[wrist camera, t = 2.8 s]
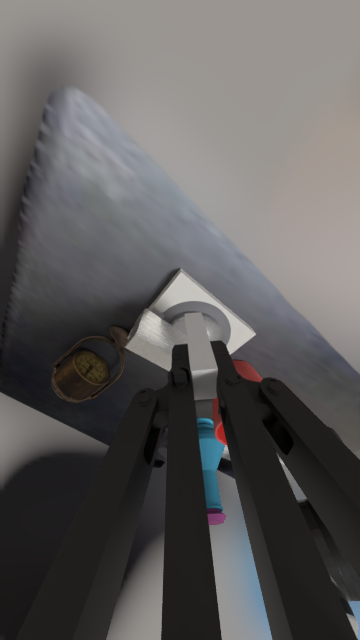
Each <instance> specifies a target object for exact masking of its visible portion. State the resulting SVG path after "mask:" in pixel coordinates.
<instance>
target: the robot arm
mask: <svg viewBox="0 0 360 640" xmlns="http://www.w3.org/2000/svg"><path fill="white" fill-rule="evenodd" d="M185 324H186V334H187V344H178V345H174V347H173V349H172V363H171V369H170V371H169V372H168V380H169V383H168V384H167V385H166V386H165V387H163V388H161V389H159V390H156V391H154V390H153V389H150V388H146V389H142V390H140V391H139V392H137V393H136V395H135V396H134V397H133V399H132V401H131V403H130V406H129V408H128V410H127V412H126V414H125V416H124V418H123V420H122V422H121V424H120V426H119V428H118V430H117V432H116V434H115V436H114V438H113V441H112V443H111V445H110V447H109V449H108V451H107V453H106V455H105V457H104V459H103V461H102V463H101V465H100V467H99V469H98V471H97V473H96V476H95V478H94V480H93V482H92V484H91V486H90V488H89V490H88V492H87V494H86V496H85V498H84V500H83V502H82V504H81V506H80V508H79V510H78V513H77V515H76V517H75V519H74V521H73V523H72V525H71V527H70V529H69V531H68V533H67V535H66V537H65V539H64V541H63V543H62V546H61V548H60V549H59V552H58V554H57V556H56V558H55V560H54V562H53V564H52V566H51V568H50V570H49V572H48V574H47V576H46V578H45V580H44V582H43V585H42V587H41V589H40V591H39V593H38V595H37V597H36V599H35V601H34V603H33V605H32V607H31V610H30V611H29V613H28V615H27V618H26V619H25V622H24V623H23V626H22V628H21V630H20V632H19V634H18V636H17V638H16V640H106V637H107V634H108V630H109V627H110V623H111V619H112V615H113V612H114V608H115V604H116V601H117V597H118V593H119V590H120V586H121V582H122V579H123V575H124V571H125V568H126V564H127V560H128V557H129V553H130V549H131V546H132V542H133V538H134V534H135V531H136V527H137V524H138V520H139V516H140V512H141V508H142V505H143V501H144V497H145V494H146V490H147V486H148V483H149V479H150V476H151V472H152V468H153V465H154V461H155V457H156V454H157V450H158V446H159V443H160V439H161V435H162V432H163V428H164V427H165V426H167V425H168V447H167V478H166V479H167V481H166V509H165V541H164V572H163V604H162V605H163V606H162V634H161V640H222V638H221V630H220V620H219V612H218V603H217V594H216V585H215V576H214V567H213V558H212V550H211V542H210V532H209V523H208V514H207V505H206V497H205V488H204V479H203V470H202V461H201V452H200V444H199V435H198V426H197V417H196V408H195V400H203V399H215V398H217V397H218V401H219V403H218V414H220V416H221V420H222V424H223V429H224V433H225V437H226V442H227V446H228V450H229V454H230V459H231V463H232V467H233V472H234V476H235V480H236V484H237V489H238V493H239V497H240V501H241V506H242V510H243V514H244V518H245V523H246V527H247V531H248V536H249V540H250V544H251V549H252V553H253V557H254V561H255V566H256V570H257V574H258V579H259V583H260V587H261V591H262V596H263V600H264V604H265V608H266V613H267V617H268V621H269V626H270V630H271V635H272V639H273V640H358V623H357V620H356V618H355V616H354V614H353V612H352V610H351V607H350V605H349V603H348V601H360V460H359V459H358V458H357V457H356V456H355V455H354V454H353V453H352V452H351V451H350V450H349V449H348V448H347V447H346V446H345V445H344V444H343V441H342V440H341V438H340V437H339V436H338V434H337V433H336V432H335V431H334V430H333V429H331V428H328V427H327V426H326V425H325V424H324V423H323V422H322V421H321V420H320V419H319V418H318V417H317V416H316V415H315V414H314V413H313V412H312V411H311V410H310V409H309V408H308V407H307V406H306V405H305V404H304V403H303V402H302V401H301V400H300V399H299V398H298V397H297V396H296V395H295V394H294V393H293V392H292V391H291V390H290V389H289V388H288V387H287V386H286V385H285V384H284V383H282V382H281V381H280V380H277V379H275V378H270V377H269V378H264V379H263V380H261V382H256V381H251V380H247V379H245V378H243V377H242V376H241V375H240V374H239V373H238V372H237V371H236V368H235V366H234V363H233V361H232V359H231V356H230V354H229V351H228V349H227V347H226V344H225V343H223V342H222V341H221V340H217V341H210V340H209V337H208V334H207V330H206V327H205V323H204V320H203V317H202V313H201V312H196V313H186V314H185ZM274 448H275V450H276V451H277V453H278V454H279V456H280V458H281V459H282V461H283V462H284V464H285V465H286V467H287V468H288V470H289V471H290V473H291V474H292V476H293V477H294V479H295V480H296V482H297V483H298V485H299V487H300V488H301V489H302V491H303V493H304V494H305V496H306V497H307V499H302V500H296V498H295V495H294V493H293V491H292V488H291V486H290V484H289V482H288V479H287V477H286V475H285V472H284V470H283V468H282V466H281V463H280V461H279V459H278V456H277V454H276V452H275V450H274Z"/></svg>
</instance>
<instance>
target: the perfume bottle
mask: <svg viewBox="0 0 360 640" xmlns="http://www.w3.org/2000/svg"><path fill="white" fill-rule="evenodd" d="M197 426H198V435H199V444H200V452H201V461H202V470H203V479H204V488H205V497H206V505H207V514H208V523H209V525H217V524H222V523H223V522H224V520H225V518H226V515H225V514H223V513H221V511H223V507H222V506H221V501H220V495H219V489H218V484H217V483H218V482H217V476H216V470H217V468H218V465H219V462H220V459H221V456H222V454H223V451H224V447H225V445H224V444H222V443H221V442H219V441H218V440H217V439H216V437H215V434H214V426H213V421H212V420H210V419H207V418H198V419H197Z"/></svg>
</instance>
